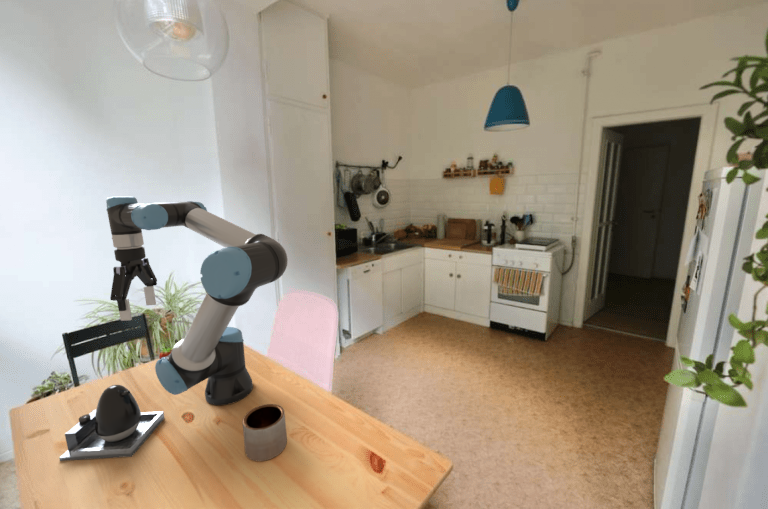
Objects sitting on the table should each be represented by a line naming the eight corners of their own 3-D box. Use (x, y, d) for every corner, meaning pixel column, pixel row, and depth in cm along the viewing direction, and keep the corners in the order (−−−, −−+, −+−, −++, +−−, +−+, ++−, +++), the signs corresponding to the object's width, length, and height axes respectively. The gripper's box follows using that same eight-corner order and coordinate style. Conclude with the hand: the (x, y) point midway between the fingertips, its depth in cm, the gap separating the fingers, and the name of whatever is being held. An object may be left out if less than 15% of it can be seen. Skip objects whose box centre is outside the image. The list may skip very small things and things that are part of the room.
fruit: (164, 370, 131) (161, 351, 129) (158, 366, 134) (155, 348, 132) (179, 364, 135) (176, 345, 134) (172, 360, 138) (170, 342, 136)
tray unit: (164, 418, 103) (161, 397, 101) (131, 456, 88) (127, 432, 87) (103, 421, 101) (99, 400, 100) (59, 460, 87) (54, 436, 85)
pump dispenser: (119, 450, 89) (109, 399, 86) (88, 445, 91) (77, 395, 88) (152, 424, 98) (144, 378, 96) (123, 420, 101) (115, 374, 98)
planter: (247, 469, 84) (243, 436, 82) (243, 441, 93) (240, 410, 91) (291, 453, 88) (288, 421, 87) (283, 428, 98) (280, 399, 96)
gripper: (139, 241, 114) (148, 300, 118) (85, 255, 90) (99, 328, 94) (163, 240, 115) (171, 299, 119) (116, 254, 91) (128, 326, 95)
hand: (139, 312), depth 107 cm, fingers open, 13 cm apart
